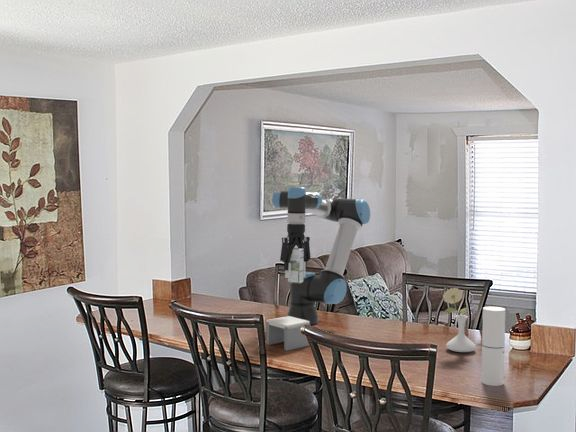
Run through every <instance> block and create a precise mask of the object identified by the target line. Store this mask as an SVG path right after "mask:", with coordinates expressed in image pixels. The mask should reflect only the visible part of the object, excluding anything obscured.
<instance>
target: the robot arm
mask: <svg viewBox="0 0 576 432" xmlns="http://www.w3.org/2000/svg"><path fill="white" fill-rule="evenodd" d="M271 203H272V205H273V206H274V207H275V208H278V209H287V216H286V217H287V219H286V223H287V224H286V225H287V226H286V229H287V236H286V237H282V238H281V243H282V244H281V250H280V257H279V261H280V262H282V263H283V270H284V278H285V279H287V278H290V277H291V263H289V261H290V258H291V255H292V252H293V249H294V248H303V249H304V263H303V282H302V283H289V287H290V288H289V304H290V305H289V308H288V312H287V315H286V316H291V317H295V318H299V319H303V320H307V321H310V326H313V325H317V324H319V315H318V312H317V307H316V303H320V304H321V303H322V304H328V305H333V304H334V305H337V304H339V303H341V302H342V301H343V300H344V298H345V297H346V294H347V289H348V285H347V282H346V281H345V280H346V277H345V276H344V272H345V269H346V267H347V263H348V260H349V257H350V254H351V251H352V249H353V248H352V247H353V245H354V242H355V238H356V236H357V232H358V231H361V229H362V227H363V225H365V224H368V223H369V222H370V219H371V210H370V205H369V203H368V201H366V199H359V198H323V197H322V195H321V194H320V193H319V192H317V191H307V189H306V187H303V186H290V187H288V189H287V190H286V191H285V190H279V191H275V192H273V194H272V196H271ZM306 213H307V214H311V215H315V216H317V217H318V218H320V219H323V220H327V221H331V222H334V223H337V224H338V225H339V227H338V231H337V232H336V236H335V238H334V241H333V245H332V247H331V251H330V253H329V256H328V259H327V262H326V265H325V268H324V269H322V270H320V273H319V276H316V273H315V272H313V271H312V272H307V271H306V269H307V267H308V266H307V262H309V260H311V249H310V239H311V238H310V237H309V236H305V232H306V225H305V223H306Z"/></svg>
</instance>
